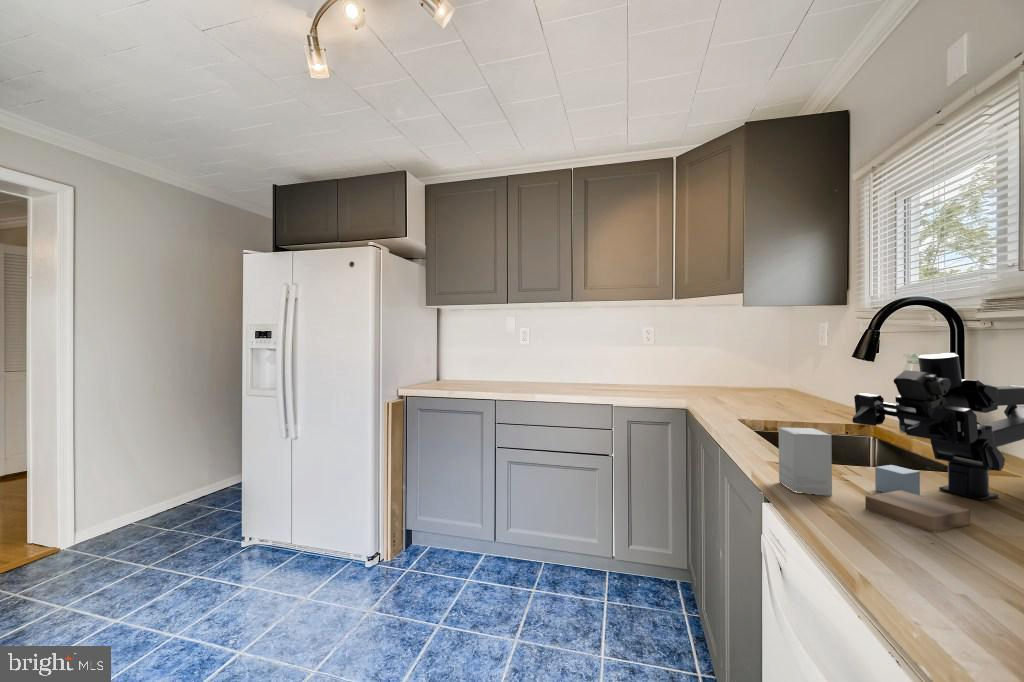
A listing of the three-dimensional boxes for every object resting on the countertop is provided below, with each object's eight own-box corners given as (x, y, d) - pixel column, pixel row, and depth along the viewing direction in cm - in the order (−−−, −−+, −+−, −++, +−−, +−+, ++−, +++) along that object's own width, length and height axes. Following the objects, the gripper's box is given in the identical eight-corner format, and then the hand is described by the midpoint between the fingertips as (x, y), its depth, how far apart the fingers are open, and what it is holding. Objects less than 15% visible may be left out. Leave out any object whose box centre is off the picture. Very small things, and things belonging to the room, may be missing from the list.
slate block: (891, 487, 90) (891, 464, 90) (919, 495, 85) (919, 471, 85) (875, 490, 88) (875, 466, 88) (903, 498, 83) (903, 474, 83)
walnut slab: (900, 502, 81) (900, 490, 81) (970, 524, 71) (970, 509, 71) (865, 509, 78) (865, 495, 78) (932, 532, 68) (932, 517, 68)
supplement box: (833, 496, 84) (833, 435, 84) (793, 493, 86) (792, 433, 86) (814, 484, 92) (814, 427, 92) (777, 482, 93) (777, 426, 93)
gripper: (879, 364, 91) (826, 378, 87) (996, 374, 73) (936, 393, 69) (883, 412, 92) (831, 429, 88) (1000, 434, 74) (941, 456, 70)
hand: (878, 426), depth 79 cm, fingers open, 9 cm apart
